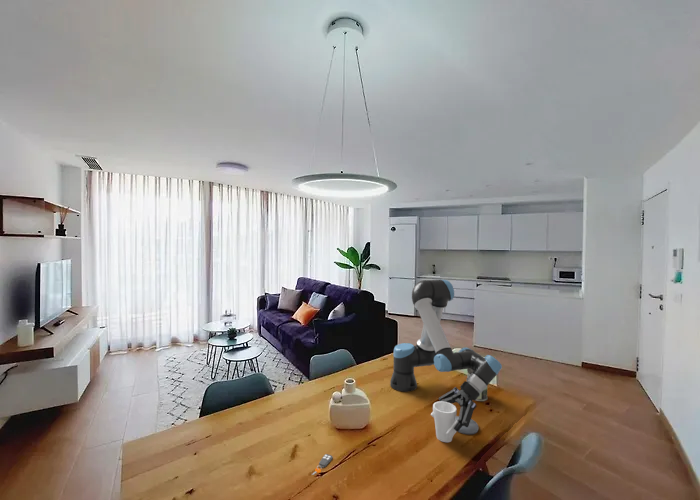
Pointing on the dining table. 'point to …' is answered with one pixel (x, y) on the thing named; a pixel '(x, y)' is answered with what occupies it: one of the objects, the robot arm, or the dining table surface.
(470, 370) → the coffee can
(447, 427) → the foam cup
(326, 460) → the key chain
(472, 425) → the trivet
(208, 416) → the dining table surface
